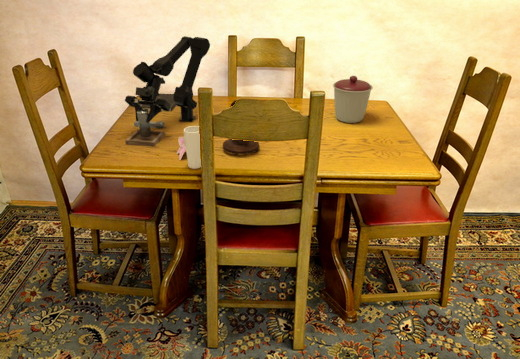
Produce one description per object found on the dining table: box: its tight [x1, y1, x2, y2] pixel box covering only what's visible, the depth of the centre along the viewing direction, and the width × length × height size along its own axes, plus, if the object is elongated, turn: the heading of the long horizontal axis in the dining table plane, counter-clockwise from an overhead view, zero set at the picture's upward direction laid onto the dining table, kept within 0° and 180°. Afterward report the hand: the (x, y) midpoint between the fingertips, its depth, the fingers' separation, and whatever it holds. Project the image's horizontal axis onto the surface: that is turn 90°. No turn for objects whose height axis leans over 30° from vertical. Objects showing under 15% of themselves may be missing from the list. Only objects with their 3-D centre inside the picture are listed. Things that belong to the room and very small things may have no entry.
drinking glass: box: [183, 125, 202, 170], centre depth 168 cm, size 7×7×15 cm
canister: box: [332, 75, 373, 124], centre depth 213 cm, size 18×18×21 cm
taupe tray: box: [124, 128, 166, 148], centre depth 194 cm, size 12×12×2 cm
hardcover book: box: [141, 93, 177, 112], centre depth 236 cm, size 16×23×2 cm
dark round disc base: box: [222, 99, 260, 157], centre depth 181 cm, size 15×15×20 cm
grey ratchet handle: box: [133, 120, 166, 130], centre depth 207 cm, size 14×4×2 cm, turn 81°
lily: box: [176, 136, 186, 161], centre depth 179 cm, size 12×12×10 cm
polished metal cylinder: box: [137, 109, 152, 137], centre depth 191 cm, size 5×5×11 cm
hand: (142, 121), depth 189 cm, fingers closed on polished metal cylinder, 5 cm apart
